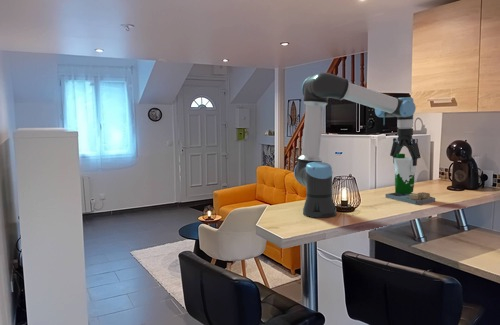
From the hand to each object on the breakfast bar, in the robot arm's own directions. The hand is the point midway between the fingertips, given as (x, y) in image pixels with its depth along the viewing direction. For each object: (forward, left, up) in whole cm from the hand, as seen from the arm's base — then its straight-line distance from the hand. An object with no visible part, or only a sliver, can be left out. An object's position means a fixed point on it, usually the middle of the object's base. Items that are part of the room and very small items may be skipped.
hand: (404, 170), depth 197 cm
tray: (0, -3, -15) cm, 15 cm away
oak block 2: (+2, -10, -14) cm, 18 cm away
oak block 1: (-3, -9, -14) cm, 18 cm away
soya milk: (0, 0, -11) cm, 11 cm away
